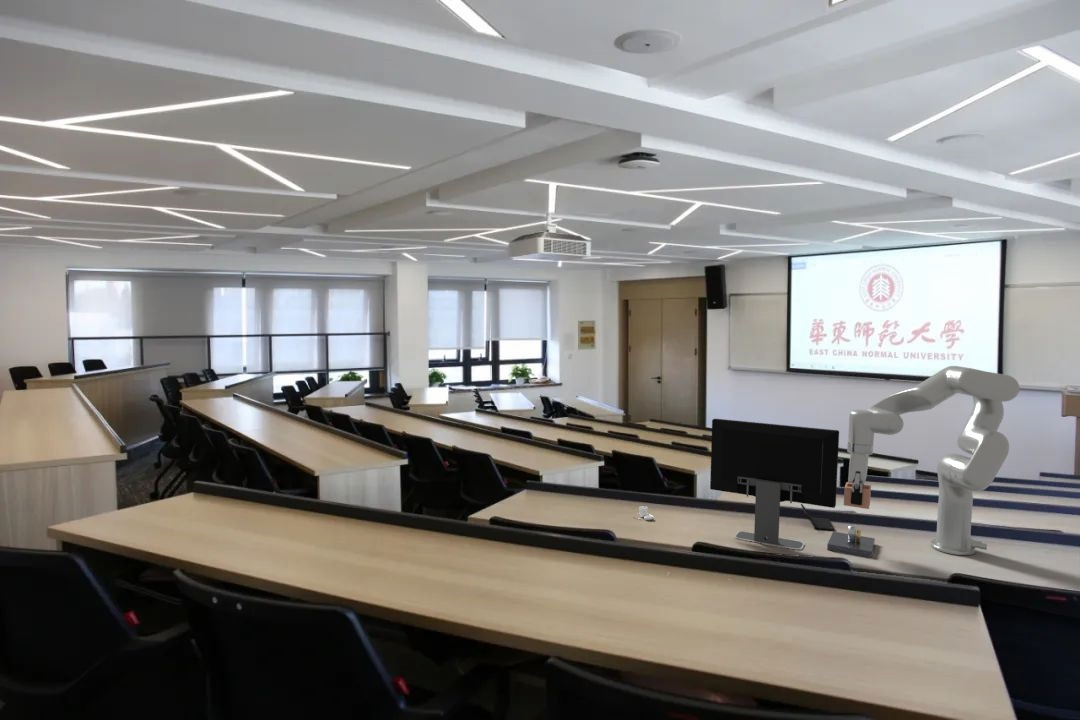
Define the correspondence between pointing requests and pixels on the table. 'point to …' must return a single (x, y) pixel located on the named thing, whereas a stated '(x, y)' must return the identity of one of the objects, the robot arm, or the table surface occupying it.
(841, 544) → the base plate
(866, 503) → the pink storage bin
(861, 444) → the robot arm
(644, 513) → the teacup and saucer
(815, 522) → the handheld gaming console
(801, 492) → the computer monitor
